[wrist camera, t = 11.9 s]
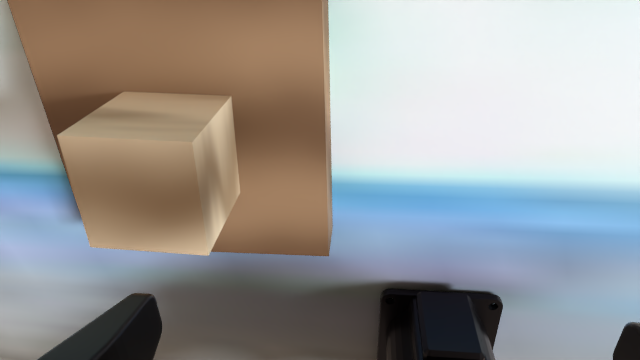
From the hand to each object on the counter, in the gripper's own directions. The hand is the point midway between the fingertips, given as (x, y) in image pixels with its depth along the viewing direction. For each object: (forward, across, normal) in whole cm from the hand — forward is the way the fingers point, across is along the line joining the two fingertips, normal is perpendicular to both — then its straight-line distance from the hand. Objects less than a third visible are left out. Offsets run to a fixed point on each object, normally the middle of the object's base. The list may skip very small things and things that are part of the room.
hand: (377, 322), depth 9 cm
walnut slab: (+14, +8, +1) cm, 16 cm away
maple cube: (+11, +8, +1) cm, 13 cm away
